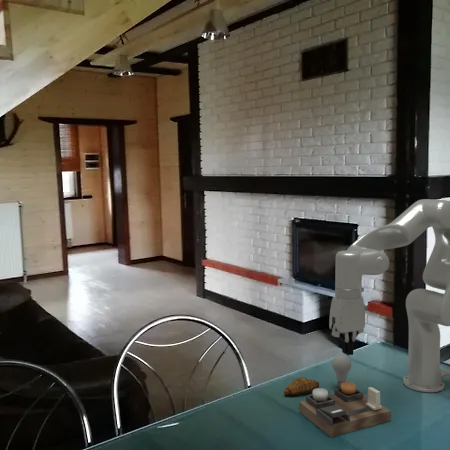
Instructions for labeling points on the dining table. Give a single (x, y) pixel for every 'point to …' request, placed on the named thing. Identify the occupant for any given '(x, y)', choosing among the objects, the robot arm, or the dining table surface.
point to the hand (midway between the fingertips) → (347, 353)
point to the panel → (352, 421)
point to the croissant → (301, 386)
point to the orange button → (348, 387)
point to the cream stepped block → (373, 399)
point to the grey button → (320, 394)
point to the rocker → (333, 411)
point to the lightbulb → (341, 367)
